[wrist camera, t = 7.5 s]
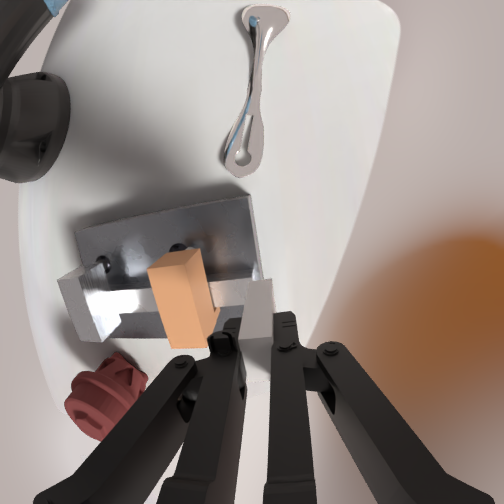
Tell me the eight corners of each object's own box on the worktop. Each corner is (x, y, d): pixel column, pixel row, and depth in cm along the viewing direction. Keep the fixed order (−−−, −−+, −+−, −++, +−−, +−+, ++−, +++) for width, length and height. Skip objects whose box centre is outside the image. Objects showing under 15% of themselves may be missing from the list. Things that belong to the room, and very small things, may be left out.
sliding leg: (174, 246, 24) (146, 269, 19) (205, 242, 24) (185, 264, 18) (191, 313, 26) (171, 348, 20) (220, 311, 26) (206, 347, 20)
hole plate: (89, 226, 28) (74, 232, 25) (250, 194, 26) (247, 197, 23) (120, 325, 31) (108, 338, 29) (269, 317, 29) (268, 332, 26)
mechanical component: (121, 395, 36) (87, 345, 33) (172, 392, 34) (136, 336, 32) (89, 450, 24) (41, 397, 22) (143, 459, 22) (88, 400, 20)
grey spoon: (264, 180, 22) (207, 173, 22) (265, 182, 25) (216, 175, 25) (293, -6, 17) (245, -10, 17) (291, 12, 21) (248, 8, 21)
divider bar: (85, 260, 26) (50, 280, 20) (248, 236, 24) (239, 257, 18) (102, 313, 28) (74, 340, 22) (258, 303, 26) (254, 339, 20)
